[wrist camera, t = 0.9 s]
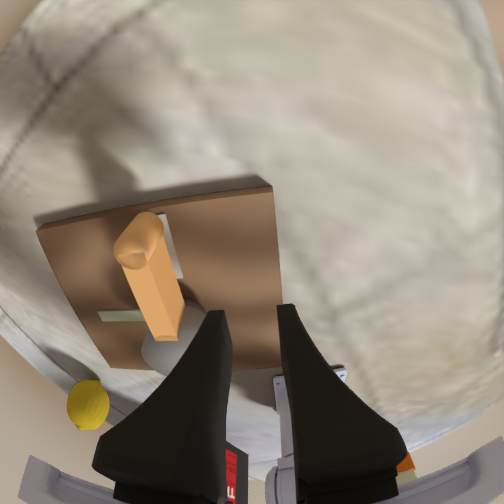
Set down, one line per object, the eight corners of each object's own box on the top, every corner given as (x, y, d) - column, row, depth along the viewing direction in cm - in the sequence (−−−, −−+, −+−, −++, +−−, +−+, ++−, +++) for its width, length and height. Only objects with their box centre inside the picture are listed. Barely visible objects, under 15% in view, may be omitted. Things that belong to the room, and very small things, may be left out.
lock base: (285, 356, 27) (287, 378, 24) (113, 359, 28) (106, 378, 26) (272, 186, 18) (274, 201, 16) (43, 224, 19) (25, 240, 17)
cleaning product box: (155, 426, 38) (136, 534, 21) (200, 423, 36) (189, 546, 19) (207, 457, 46) (201, 543, 28) (248, 454, 44) (247, 547, 26)
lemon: (103, 369, 29) (83, 422, 23) (122, 393, 32) (108, 443, 25) (71, 365, 30) (51, 414, 23) (92, 389, 33) (76, 435, 26)
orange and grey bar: (222, 349, 22) (219, 379, 19) (163, 350, 22) (155, 379, 19) (184, 205, 16) (170, 229, 13) (108, 217, 16) (86, 242, 13)
